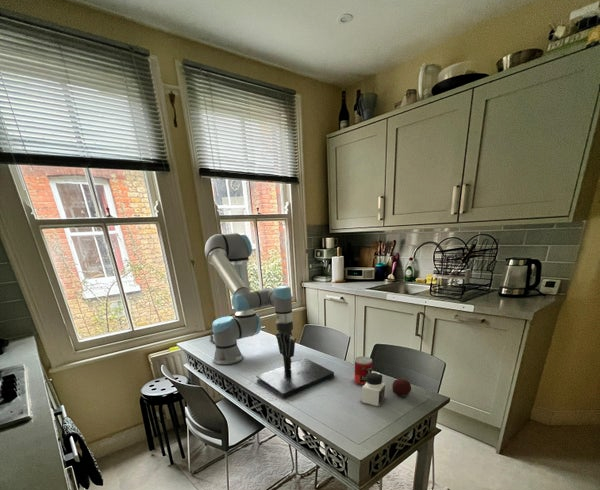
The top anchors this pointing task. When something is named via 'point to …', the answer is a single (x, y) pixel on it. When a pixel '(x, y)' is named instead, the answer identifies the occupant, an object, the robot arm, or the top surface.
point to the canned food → (362, 369)
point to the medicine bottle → (373, 389)
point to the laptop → (294, 390)
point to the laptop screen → (294, 376)
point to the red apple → (401, 387)
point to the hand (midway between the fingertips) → (287, 368)
